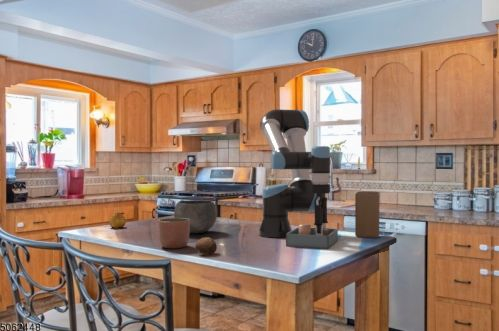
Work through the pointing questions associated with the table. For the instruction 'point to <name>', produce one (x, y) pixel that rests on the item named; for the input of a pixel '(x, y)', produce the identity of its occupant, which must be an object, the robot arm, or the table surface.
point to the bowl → (197, 214)
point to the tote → (311, 239)
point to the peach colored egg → (305, 229)
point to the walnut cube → (325, 231)
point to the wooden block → (367, 214)
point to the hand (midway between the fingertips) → (321, 239)
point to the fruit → (117, 220)
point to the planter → (174, 232)
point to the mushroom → (206, 246)
